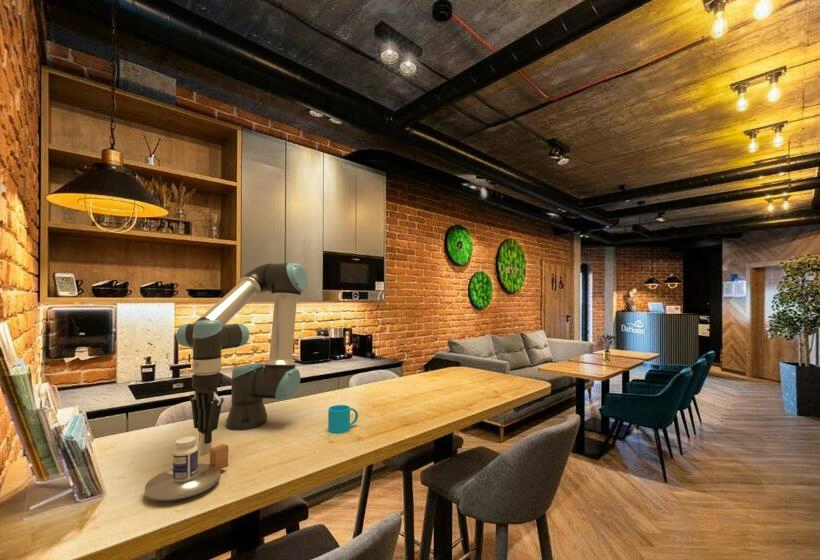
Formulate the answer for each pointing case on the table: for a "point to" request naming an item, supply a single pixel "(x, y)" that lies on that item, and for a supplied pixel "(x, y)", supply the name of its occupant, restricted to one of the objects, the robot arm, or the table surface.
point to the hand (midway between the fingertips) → (205, 453)
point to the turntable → (207, 477)
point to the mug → (340, 419)
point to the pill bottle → (185, 459)
